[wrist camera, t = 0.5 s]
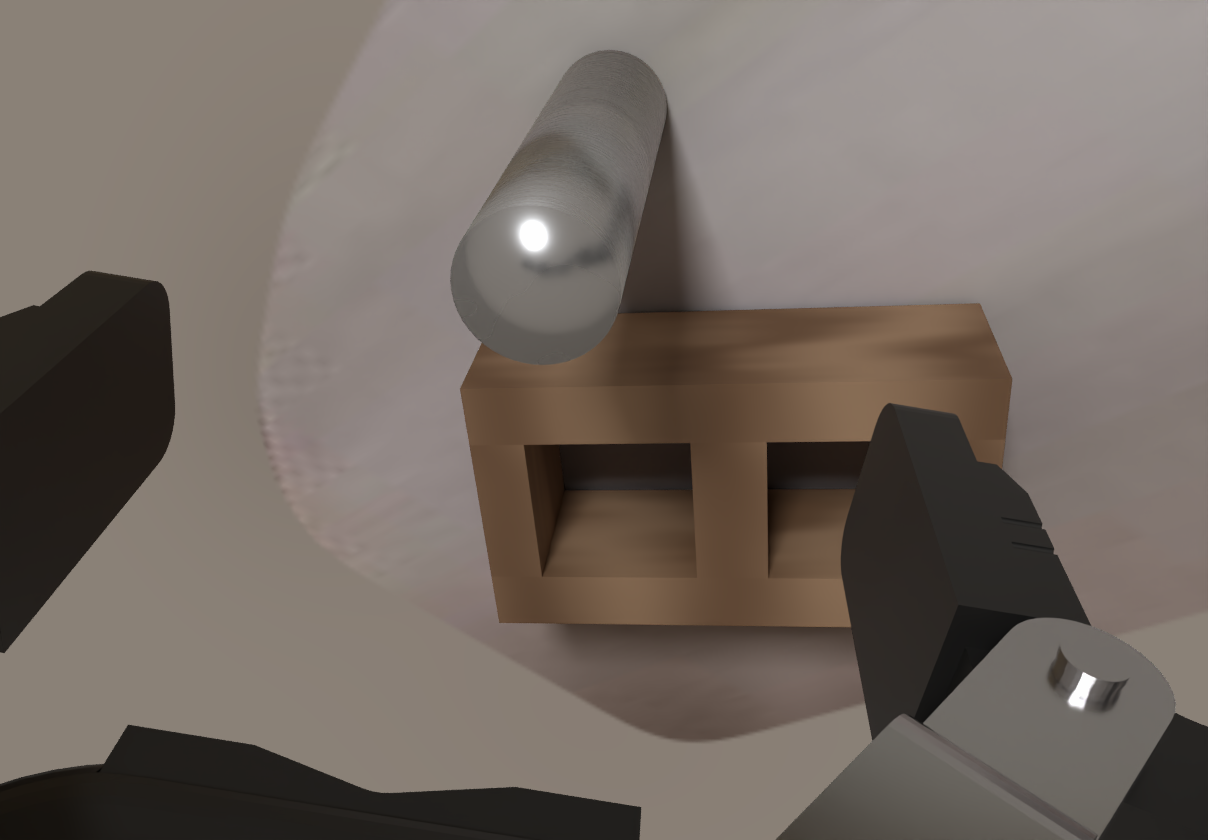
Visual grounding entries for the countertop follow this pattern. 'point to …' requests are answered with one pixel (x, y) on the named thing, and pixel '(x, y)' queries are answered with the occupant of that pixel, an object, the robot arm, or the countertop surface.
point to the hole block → (708, 457)
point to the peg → (564, 216)
